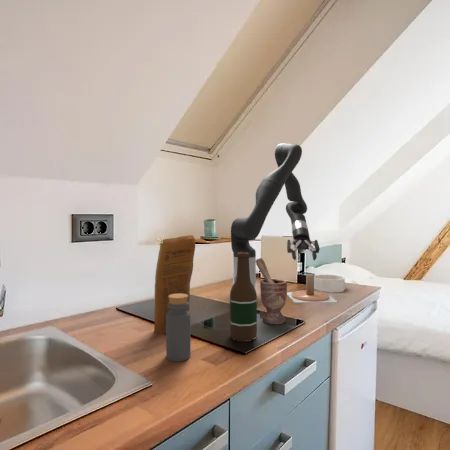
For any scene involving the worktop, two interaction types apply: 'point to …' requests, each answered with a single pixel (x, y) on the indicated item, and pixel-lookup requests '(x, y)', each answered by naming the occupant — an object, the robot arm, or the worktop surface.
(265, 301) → the mortar and pestle
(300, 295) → the lid
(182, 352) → the bottle
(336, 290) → the bowl
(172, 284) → the pancake mix bag
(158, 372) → the worktop surface
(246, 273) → the beer bottle
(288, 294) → the mat
